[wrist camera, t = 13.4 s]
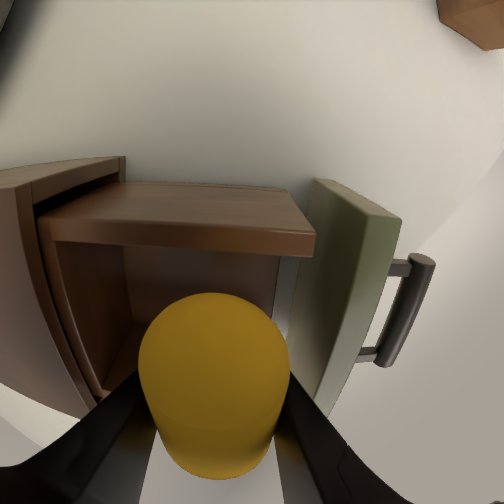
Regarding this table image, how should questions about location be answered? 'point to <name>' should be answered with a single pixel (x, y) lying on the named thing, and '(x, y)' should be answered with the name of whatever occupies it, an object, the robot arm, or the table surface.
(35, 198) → the cabinet
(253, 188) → the drawer
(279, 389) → the yellow capsule toy
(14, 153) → the table surface
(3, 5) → the bowl
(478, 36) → the stand
